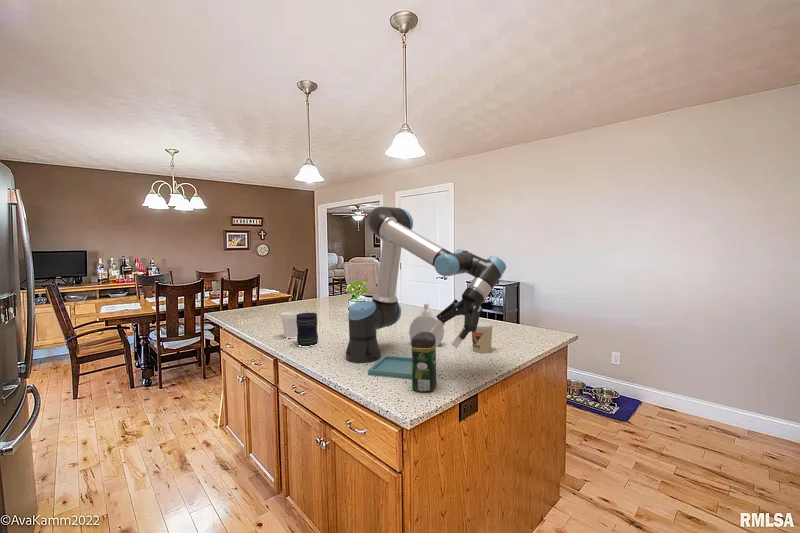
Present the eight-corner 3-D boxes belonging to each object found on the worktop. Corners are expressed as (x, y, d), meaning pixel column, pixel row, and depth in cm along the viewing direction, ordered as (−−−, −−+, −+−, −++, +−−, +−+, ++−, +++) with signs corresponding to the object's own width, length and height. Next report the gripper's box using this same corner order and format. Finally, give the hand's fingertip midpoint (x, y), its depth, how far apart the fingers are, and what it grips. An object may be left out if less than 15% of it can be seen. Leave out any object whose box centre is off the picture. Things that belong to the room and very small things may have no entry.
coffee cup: (467, 349, 169) (467, 323, 168) (484, 346, 172) (484, 321, 172) (479, 354, 160) (479, 327, 159) (496, 352, 164) (497, 325, 163)
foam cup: (278, 339, 191) (277, 314, 190) (286, 335, 200) (285, 311, 199) (295, 340, 190) (294, 315, 189) (303, 335, 199) (302, 311, 198)
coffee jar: (416, 381, 132) (415, 329, 131) (438, 383, 130) (437, 330, 128) (409, 391, 123) (408, 336, 121) (432, 394, 120) (432, 337, 119)
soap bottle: (409, 345, 177) (408, 303, 175) (411, 342, 182) (411, 302, 180) (442, 347, 172) (442, 304, 171) (444, 344, 178) (443, 303, 176)
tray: (368, 374, 139) (368, 369, 139) (384, 359, 156) (384, 355, 156) (414, 379, 133) (414, 374, 133) (426, 363, 150) (426, 358, 150)
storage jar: (292, 345, 179) (291, 315, 178) (308, 341, 187) (307, 311, 186) (306, 349, 174) (305, 317, 173) (322, 344, 182) (321, 313, 181)
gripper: (506, 305, 124) (471, 356, 118) (460, 295, 146) (429, 339, 140) (494, 290, 121) (457, 343, 115) (449, 283, 143) (416, 327, 137)
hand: (441, 341), depth 127 cm, fingers open, 13 cm apart
